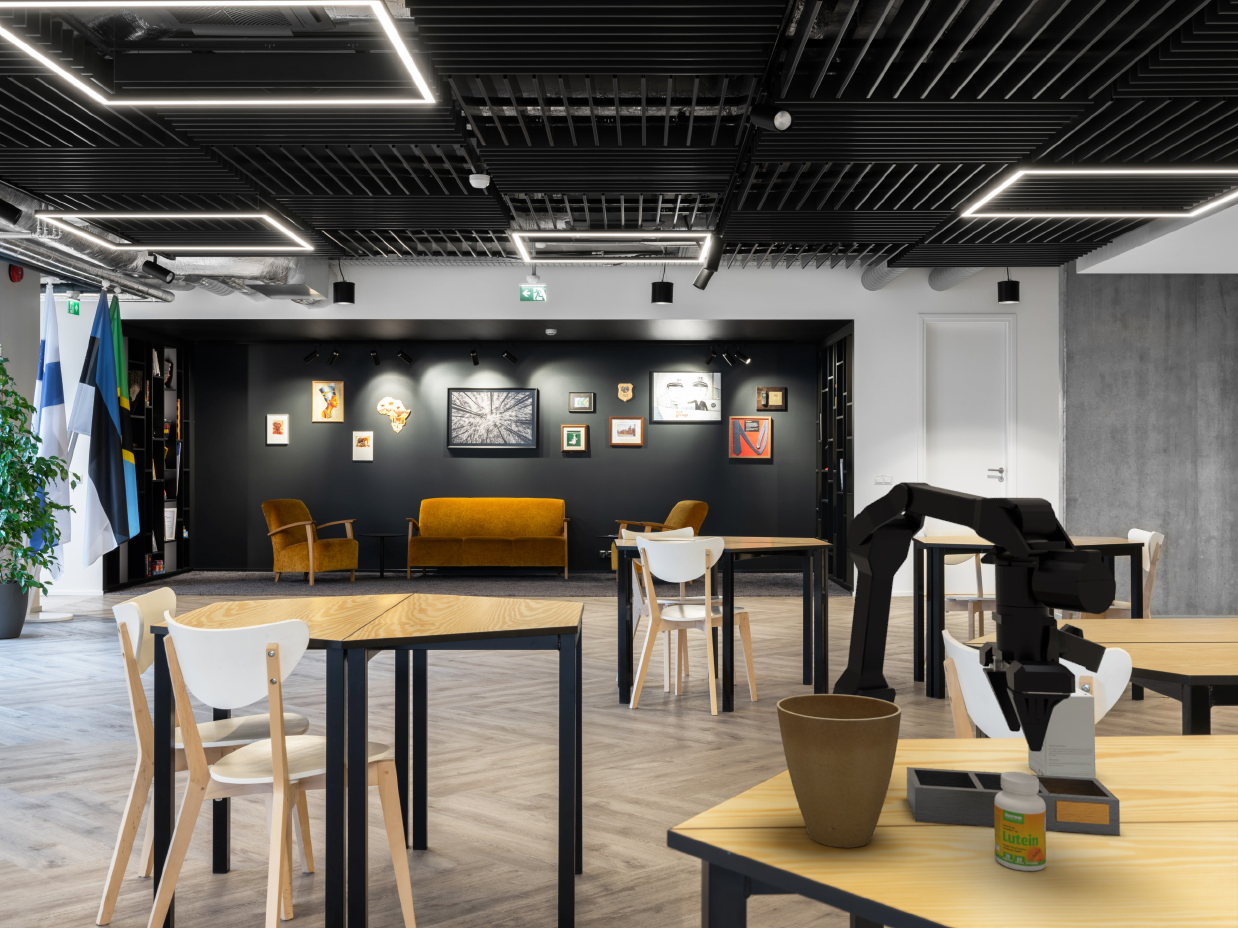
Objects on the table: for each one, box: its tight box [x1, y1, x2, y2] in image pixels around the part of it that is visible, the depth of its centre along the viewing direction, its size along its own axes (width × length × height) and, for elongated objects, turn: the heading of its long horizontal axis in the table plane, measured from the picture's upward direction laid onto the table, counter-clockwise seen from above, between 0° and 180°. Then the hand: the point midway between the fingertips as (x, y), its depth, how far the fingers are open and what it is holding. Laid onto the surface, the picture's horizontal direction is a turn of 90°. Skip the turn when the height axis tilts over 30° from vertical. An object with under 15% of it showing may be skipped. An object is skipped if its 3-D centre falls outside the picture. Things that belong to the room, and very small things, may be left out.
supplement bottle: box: [994, 771, 1047, 872], centre depth 105 cm, size 5×5×10 cm
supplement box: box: [1027, 686, 1097, 779], centre depth 139 cm, size 7×7×13 cm
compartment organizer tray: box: [906, 766, 1121, 836], centre depth 120 cm, size 24×9×4 cm, turn 79°
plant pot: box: [776, 693, 902, 849], centre depth 113 cm, size 15×15×16 cm
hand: (1024, 740), depth 106 cm, fingers open, 9 cm apart
